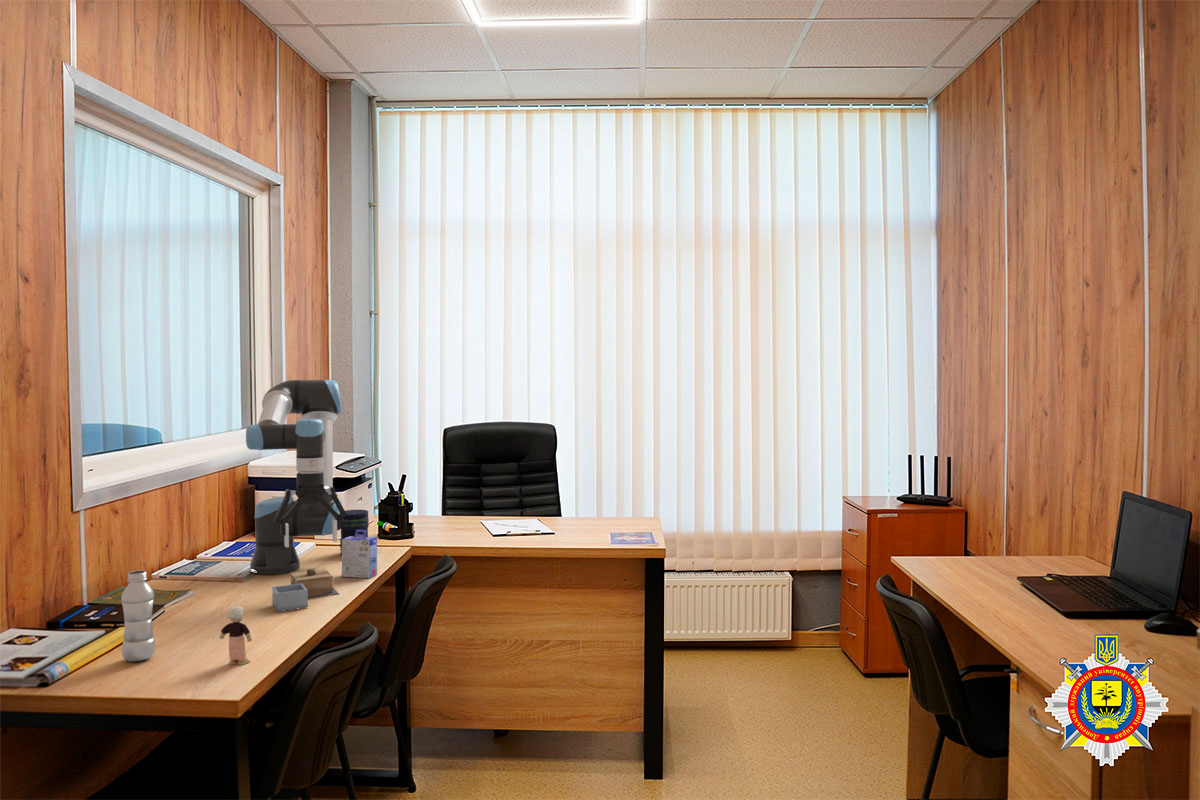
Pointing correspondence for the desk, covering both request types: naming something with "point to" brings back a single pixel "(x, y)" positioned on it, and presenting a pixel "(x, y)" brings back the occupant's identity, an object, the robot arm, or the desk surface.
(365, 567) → the ink cartridge box
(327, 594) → the mat
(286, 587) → the grey cubby shelf
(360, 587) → the desk surface
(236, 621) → the grandmother figurine
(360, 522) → the storage jar
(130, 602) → the plastic bottle
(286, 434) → the robot arm
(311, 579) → the lid
